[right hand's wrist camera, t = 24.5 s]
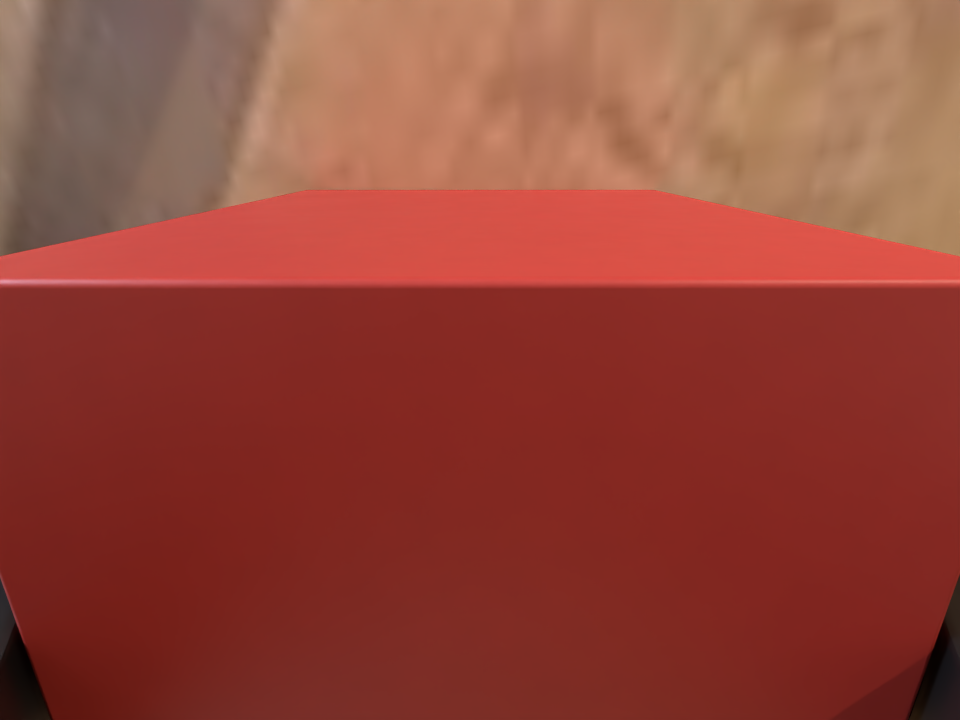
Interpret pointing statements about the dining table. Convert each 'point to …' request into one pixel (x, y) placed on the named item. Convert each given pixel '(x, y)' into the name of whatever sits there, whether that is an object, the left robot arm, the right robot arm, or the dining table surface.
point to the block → (479, 461)
